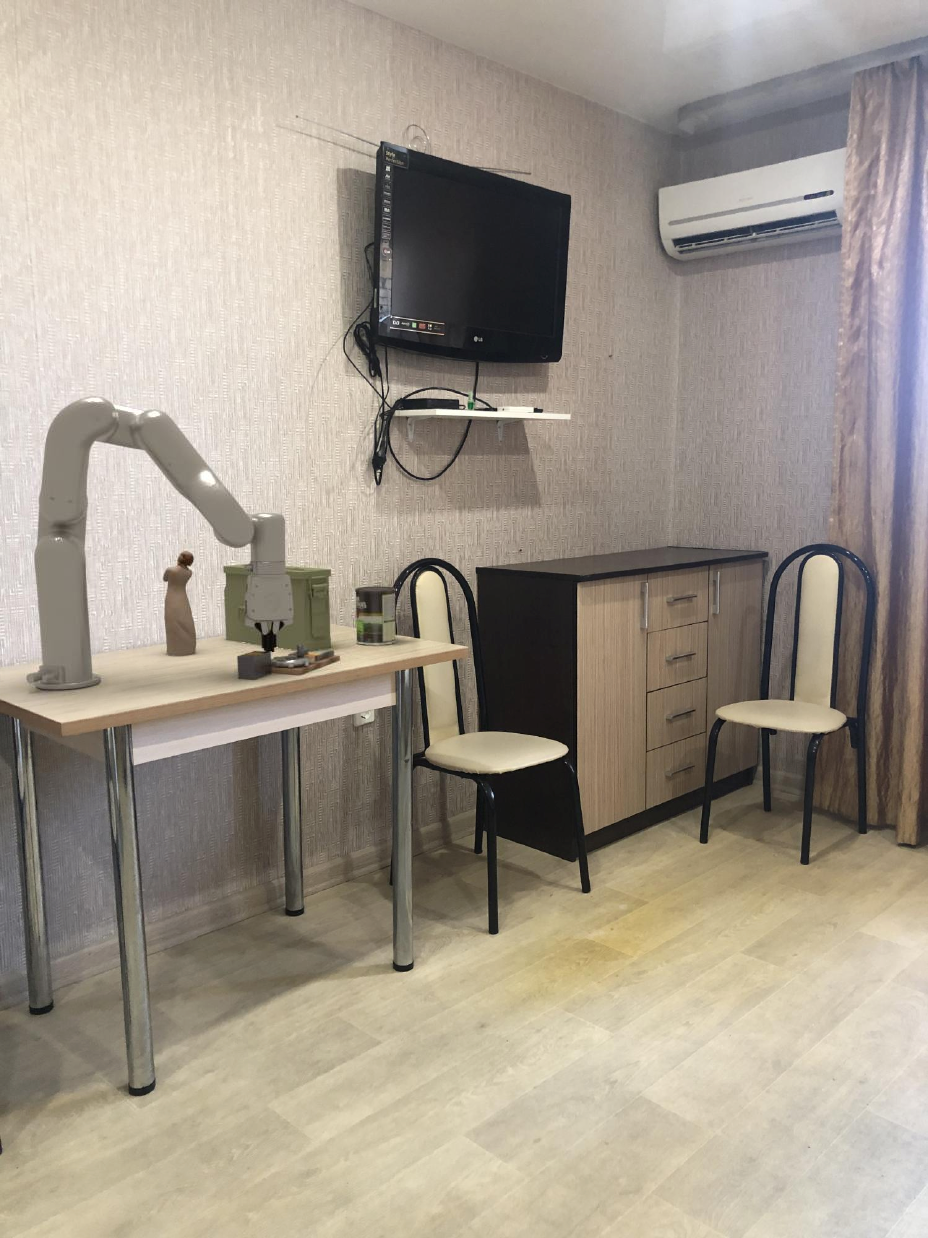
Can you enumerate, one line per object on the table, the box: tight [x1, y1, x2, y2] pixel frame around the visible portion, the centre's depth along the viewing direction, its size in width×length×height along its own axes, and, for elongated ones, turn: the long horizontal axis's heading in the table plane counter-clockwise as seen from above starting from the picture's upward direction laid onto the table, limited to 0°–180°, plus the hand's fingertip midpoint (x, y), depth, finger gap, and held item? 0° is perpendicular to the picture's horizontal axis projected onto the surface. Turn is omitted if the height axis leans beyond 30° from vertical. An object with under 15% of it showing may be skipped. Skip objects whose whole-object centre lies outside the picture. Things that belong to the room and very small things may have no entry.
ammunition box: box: [222, 563, 333, 653], centre depth 254 cm, size 10×33×20 cm, turn 51°
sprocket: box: [271, 644, 313, 667], centre depth 220 cm, size 10×10×4 cm
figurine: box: [162, 550, 197, 657], centre depth 241 cm, size 8×8×25 cm
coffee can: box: [354, 586, 397, 646], centre depth 255 cm, size 10×10×14 cm
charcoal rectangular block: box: [236, 650, 273, 681], centre depth 213 cm, size 7×4×5 cm, turn 160°
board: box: [271, 649, 341, 676], centre depth 225 cm, size 19×11×2 cm, turn 160°
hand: (269, 651), depth 221 cm, fingers closed
